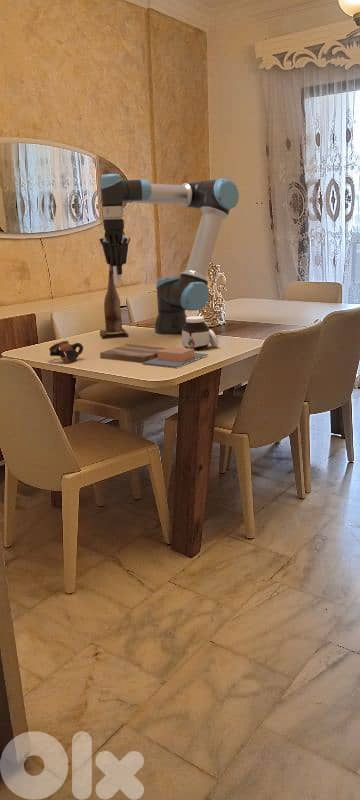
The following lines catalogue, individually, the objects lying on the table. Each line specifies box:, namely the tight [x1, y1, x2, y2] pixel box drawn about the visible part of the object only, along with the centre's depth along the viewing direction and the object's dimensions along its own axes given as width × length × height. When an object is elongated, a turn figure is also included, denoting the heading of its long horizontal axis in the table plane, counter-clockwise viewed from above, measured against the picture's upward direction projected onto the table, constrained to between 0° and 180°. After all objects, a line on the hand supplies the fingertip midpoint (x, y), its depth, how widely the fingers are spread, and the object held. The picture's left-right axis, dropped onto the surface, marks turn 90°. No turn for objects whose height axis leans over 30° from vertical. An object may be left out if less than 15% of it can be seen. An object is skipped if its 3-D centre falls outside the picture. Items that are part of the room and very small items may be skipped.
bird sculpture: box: [99, 264, 129, 339], centre depth 266 cm, size 11×12×32 cm
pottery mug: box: [49, 340, 84, 365], centre depth 228 cm, size 12×10×8 cm
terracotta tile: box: [157, 346, 195, 362], centre depth 220 cm, size 8×10×3 cm
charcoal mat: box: [142, 352, 209, 368], centre depth 221 cm, size 20×14×1 cm
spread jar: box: [181, 315, 219, 351], centre depth 238 cm, size 12×11×12 cm
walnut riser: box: [99, 343, 166, 364], centre depth 230 cm, size 16×20×2 cm
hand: (117, 283), depth 240 cm, fingers closed
